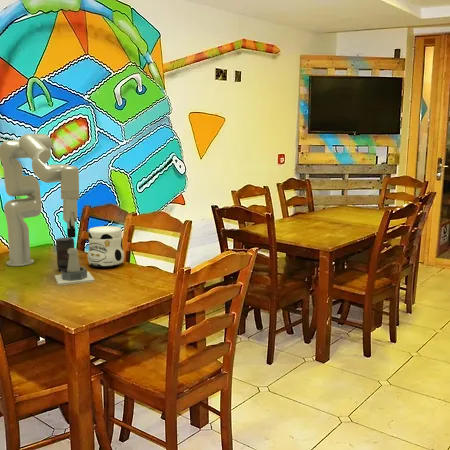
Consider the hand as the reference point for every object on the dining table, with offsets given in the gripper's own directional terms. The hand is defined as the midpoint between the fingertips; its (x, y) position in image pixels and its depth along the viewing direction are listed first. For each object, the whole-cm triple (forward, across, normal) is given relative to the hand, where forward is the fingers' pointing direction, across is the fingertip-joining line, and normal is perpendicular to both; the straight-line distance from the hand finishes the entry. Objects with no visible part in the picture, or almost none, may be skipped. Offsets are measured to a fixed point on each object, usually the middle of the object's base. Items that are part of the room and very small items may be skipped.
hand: (71, 237), depth 238 cm
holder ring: (+19, +1, +1) cm, 19 cm away
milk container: (+19, -19, +19) cm, 33 cm away
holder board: (+19, +1, +1) cm, 19 cm away
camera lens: (+20, -17, 0) cm, 26 cm away
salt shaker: (+18, +1, 0) cm, 18 cm away
